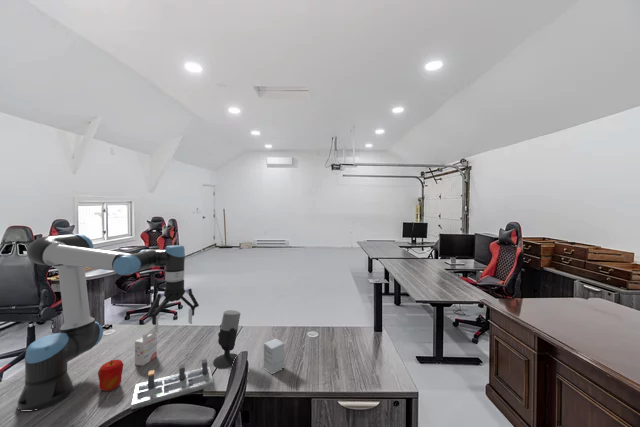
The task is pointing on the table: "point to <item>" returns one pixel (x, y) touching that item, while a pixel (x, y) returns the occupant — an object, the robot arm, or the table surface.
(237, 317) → the microphone
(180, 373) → the breaker mid
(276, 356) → the supplement box
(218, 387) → the table surface
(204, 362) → the breaker right
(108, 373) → the apple
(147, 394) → the breaker panel
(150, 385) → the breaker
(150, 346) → the ink cartridge box
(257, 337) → the table surface
